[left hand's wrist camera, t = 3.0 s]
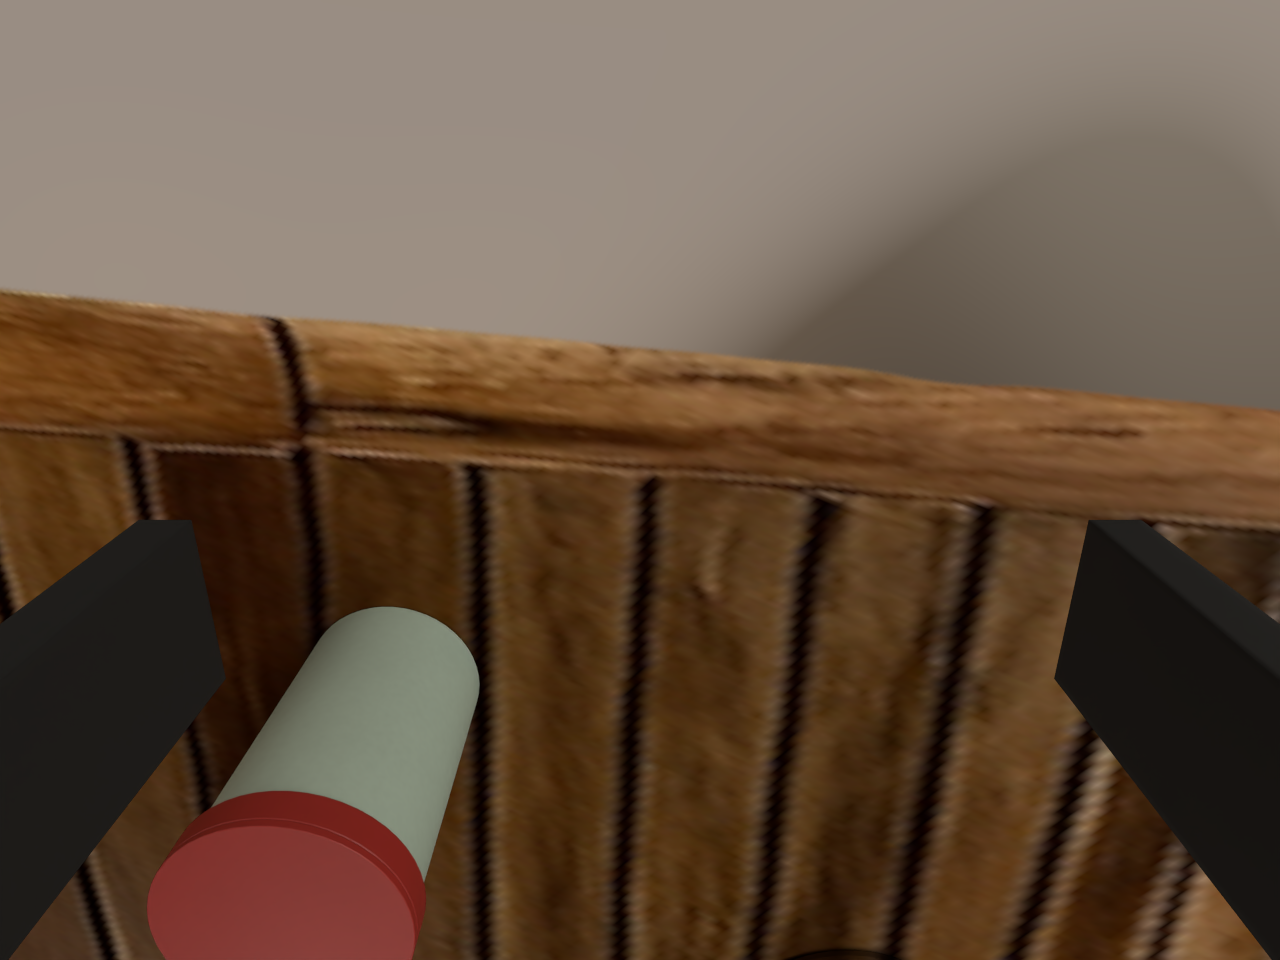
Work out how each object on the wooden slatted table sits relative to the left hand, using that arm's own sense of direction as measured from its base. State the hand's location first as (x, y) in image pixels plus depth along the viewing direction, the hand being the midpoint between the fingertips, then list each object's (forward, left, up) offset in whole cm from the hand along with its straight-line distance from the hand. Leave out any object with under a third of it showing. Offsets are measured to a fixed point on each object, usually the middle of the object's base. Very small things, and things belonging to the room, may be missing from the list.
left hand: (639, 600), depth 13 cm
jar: (-21, +14, -28) cm, 38 cm away
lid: (-21, +14, -12) cm, 28 cm away
